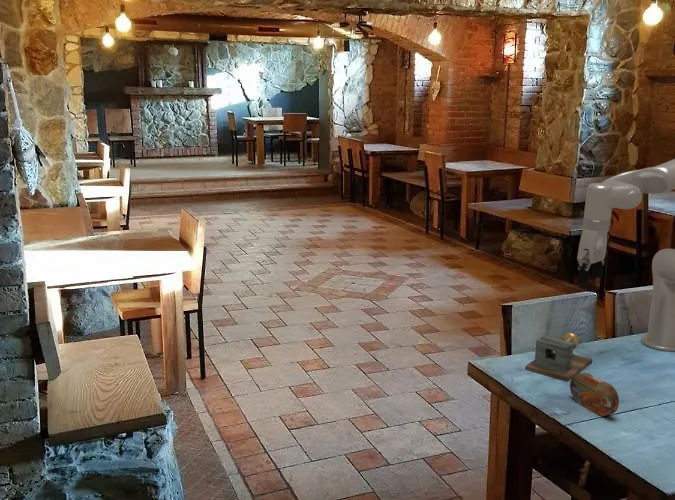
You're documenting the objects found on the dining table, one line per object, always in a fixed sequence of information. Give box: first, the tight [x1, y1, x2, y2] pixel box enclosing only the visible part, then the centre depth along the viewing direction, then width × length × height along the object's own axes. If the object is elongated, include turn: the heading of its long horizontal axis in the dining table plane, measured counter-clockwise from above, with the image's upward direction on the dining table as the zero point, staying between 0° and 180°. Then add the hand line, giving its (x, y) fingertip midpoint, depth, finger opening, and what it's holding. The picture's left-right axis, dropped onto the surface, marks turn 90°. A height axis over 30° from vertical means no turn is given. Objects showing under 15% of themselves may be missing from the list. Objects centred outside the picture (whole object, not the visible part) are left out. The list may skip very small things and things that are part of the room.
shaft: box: [549, 331, 580, 356], centre depth 203 cm, size 13×5×5 cm, turn 139°
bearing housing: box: [524, 335, 593, 383], centre depth 202 cm, size 18×13×9 cm
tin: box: [569, 372, 620, 417], centre depth 176 cm, size 15×3×8 cm, turn 23°
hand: (589, 279), depth 206 cm, fingers open, 9 cm apart
